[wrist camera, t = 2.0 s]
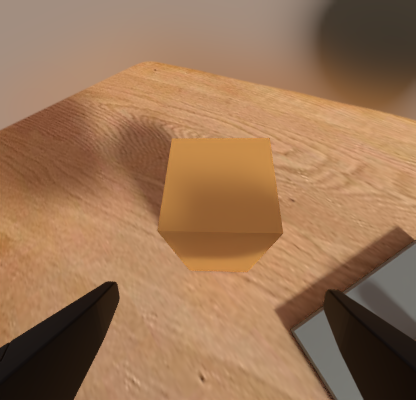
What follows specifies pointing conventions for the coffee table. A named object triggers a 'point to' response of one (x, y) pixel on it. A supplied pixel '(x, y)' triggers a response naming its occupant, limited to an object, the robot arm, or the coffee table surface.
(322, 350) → the post board
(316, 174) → the coffee table surface
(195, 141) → the tall amber pillar
